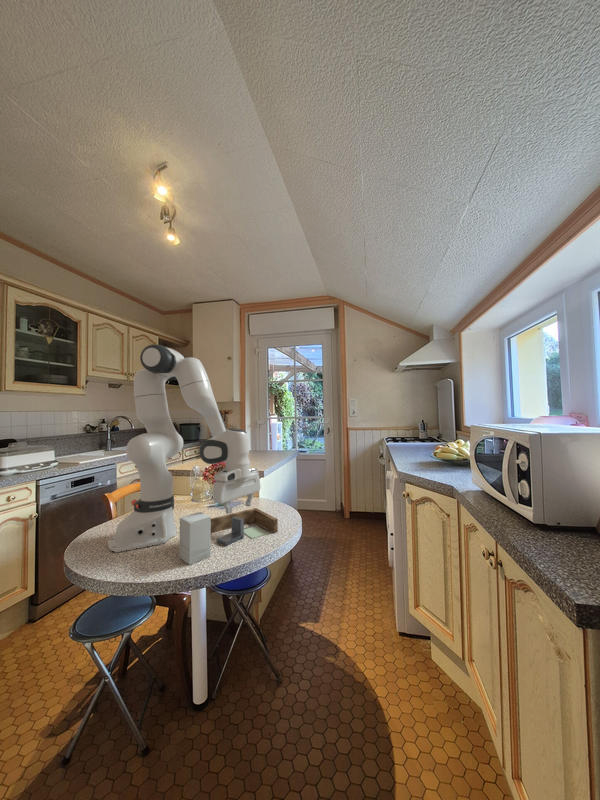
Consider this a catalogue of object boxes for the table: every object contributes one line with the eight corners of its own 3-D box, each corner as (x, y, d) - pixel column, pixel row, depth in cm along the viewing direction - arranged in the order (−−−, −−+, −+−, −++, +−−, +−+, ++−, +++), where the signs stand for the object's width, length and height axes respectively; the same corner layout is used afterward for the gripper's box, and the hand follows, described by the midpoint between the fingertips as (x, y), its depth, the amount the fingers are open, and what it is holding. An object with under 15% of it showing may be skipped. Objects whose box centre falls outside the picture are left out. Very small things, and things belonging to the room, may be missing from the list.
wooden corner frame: (223, 549, 97) (223, 534, 97) (205, 533, 110) (205, 520, 111) (277, 532, 110) (277, 519, 111) (255, 519, 124) (255, 507, 124)
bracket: (226, 546, 99) (226, 525, 100) (217, 542, 102) (217, 522, 103) (243, 538, 106) (243, 518, 106) (234, 534, 109) (234, 516, 109)
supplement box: (211, 556, 92) (211, 516, 93) (188, 565, 87) (189, 523, 88) (200, 549, 97) (200, 511, 98) (178, 557, 92) (179, 517, 93)
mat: (252, 539, 105) (252, 538, 105) (239, 530, 113) (239, 529, 113) (268, 533, 109) (268, 533, 109) (255, 525, 117) (255, 525, 117)
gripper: (252, 466, 118) (253, 500, 117) (209, 476, 101) (210, 516, 101) (263, 467, 114) (264, 503, 113) (221, 478, 98) (222, 519, 97)
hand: (238, 509), depth 107 cm, fingers open, 8 cm apart
